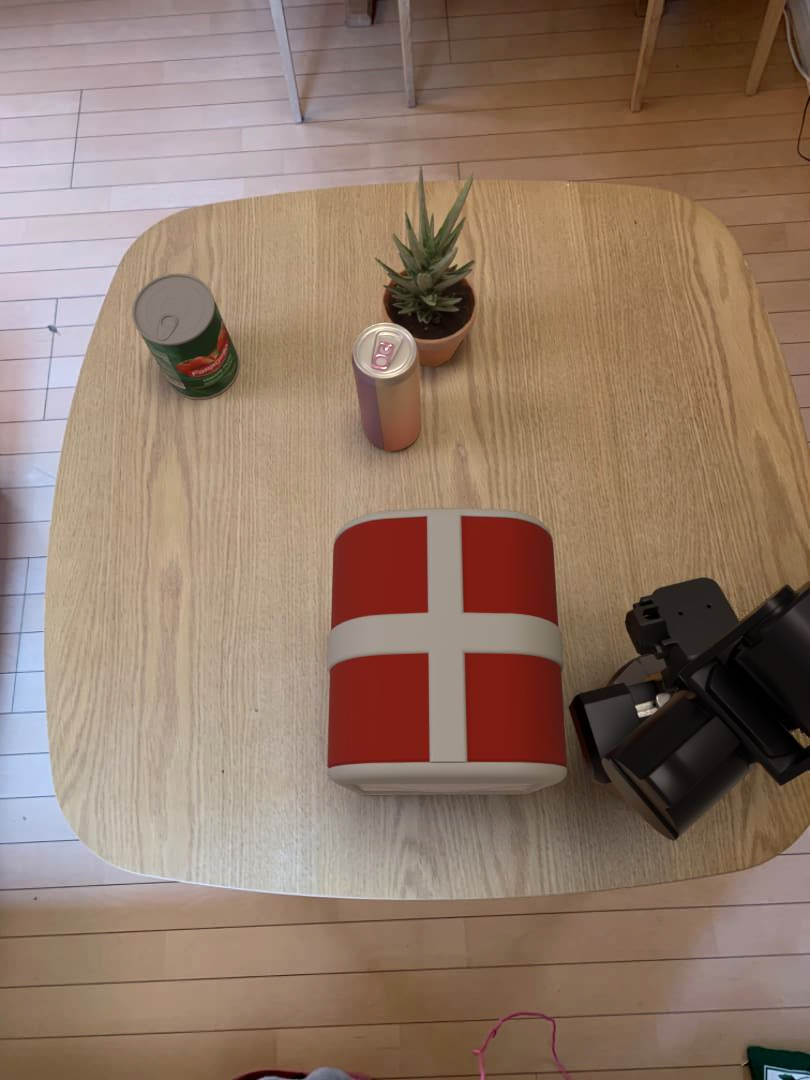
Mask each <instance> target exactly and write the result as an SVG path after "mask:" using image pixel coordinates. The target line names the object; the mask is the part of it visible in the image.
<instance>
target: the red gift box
mask: <svg viewBox="0 0 810 1080" xmlns="http://www.w3.org/2000/svg"><path fill="white" fill-rule="evenodd" d="M554 550H555V547H554V538H553V535H552V532H551V530H550V529H549V527H547V525H546V524H545V523H544V522H543V521H541V519H539V518H537V517H535V516H533V515H531V514H527V513H525V512H521V511H517V510H512V509H511V510H510V509H502V508H501V509H500V508H498V509H497V508H474V507H473V508H471V507H440V508H439V507H435V508H434V507H432V508H412V509H409V508H408V509H395V510H394V509H393V510H381V511H374V512H370V513H366V514H363V515H360V516H357V517H355V518H353V519H351V520H349V521H348V522H346V523H345V524H344V525H343V526H342V527H341V528H340V529H339V530H338V531H337V533H336V534H335V537H334V539H333V549H332V576H331V577H332V579H331V580H332V581H331V614H330V615H331V616H330V617H331V618H330V631H329V633H328V637H327V657H326V659H327V662H326V670H327V673H328V675H329V687H328V689H329V691H328V728H327V730H328V731H327V765H326V767H327V776H328V778H329V780H330V781H332V782H333V783H335V784H336V785H338V786H340V787H342V788H344V789H347V790H349V791H350V792H353V793H355V794H357V795H360V796H455V795H456V796H469V795H471V796H472V795H473V796H477V795H478V796H480V795H482V796H484V795H489V796H490V795H491V796H492V795H493V796H497V795H505V796H510V795H513V796H515V795H520V796H521V795H524V796H525V795H529V794H531V793H535V792H537V791H539V790H542V789H545V788H547V787H551V786H553V785H556V784H558V783H560V782H561V781H563V780H564V779H566V776H567V773H568V768H567V767H568V762H567V760H568V759H567V746H566V745H567V744H566V727H565V726H566V725H565V712H564V711H565V709H564V695H563V693H564V692H563V677H562V672H563V670H564V668H565V667H564V666H565V664H564V663H565V661H564V649H563V647H564V646H563V633H562V631H561V628H560V627H559V612H558V598H557V596H558V595H557V584H556V583H557V581H556V567H555V566H556V564H555V551H554Z"/></svg>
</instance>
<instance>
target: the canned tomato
mask: <svg viewBox="0 0 810 1080" xmlns="http://www.w3.org/2000/svg"><path fill="white" fill-rule="evenodd" d="M131 317H132V322H133V325H134V328H135V329H136V331H138V333H139V335H140V336H141V338H142V339H143V342H144V343H145V345H146V346H147V348H148V349H149V351H150V353H151V355H152V356H153V358H154V360H155V361H156V363H157V365H158V366H159V368H160V369H161V371H162V373H163V375H164V376H165V378H166V380H167V381H168V384H169V385H170V387H171V388H172V389H173V390H174V391H175V392H176V393H177V394H178V395H180V396H182V397H184V398H187V399H190V400H207V399H211V398H214V397H217V396H220V395H221V394H222V393H224V392H226V391H227V390H228V389H229V388H230V387H231V386H232V385H233V383H234V382H235V381H236V379H237V376H238V374H239V370H240V357H239V354H238V352H237V350H236V348H235V346H234V343H233V341H232V338H231V336H230V334H229V333H230V332H229V331H228V328H227V326H226V324H225V322H224V319H223V316H222V314H221V311H220V309H219V308H218V305H217V302H216V300H215V297H214V295H213V292H212V290H211V288H210V287H209V286H208V285H207V284H206V282H204V281H203V280H201V279H200V278H198V277H196V276H194V275H191V274H188V273H181V272H175V273H174V272H173V273H168V274H164V275H160V276H158V277H156V278H154V279H152V280H150V281H149V282H148V283H146V284H145V285H144V286H143V287H142V288H141V289H140V290H139V291H138V293H137V295H136V296H135V298H134V300H133V303H132V307H131Z"/></svg>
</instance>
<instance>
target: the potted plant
mask: <svg viewBox="0 0 810 1080" xmlns="http://www.w3.org/2000/svg"><path fill="white" fill-rule="evenodd" d="M474 173H475V171H472V172H471V174H470V175H469V177H468V179H467V181H466V182H465V184H464V186H463V187H462V189H461V191H460V192H459V194H458V196H457V197H456V199H455V201H454V203H453V204H452V206H451V208H450V210H449V211H448V213H447V215H446V217H445V219H444V221H443V223H442V225H441V227H440V228H438V231H437V232H436V234H435V217H434V212H431V213H432V214H431V215H430V219H429V216H428V215H429V214H428V210H427V201H426V194H425V185H424V173H423V167H422V165H421V164H420V165H419V169H418V183H417V185H418V186H417V194H418V228H419V229H418V230H419V231H418V239H417V236H416V235H417V234H416V233H415V230H414V228H413V225H412V223H411V221H410V218H409V215H408V213H407V211H404V221H405V222H404V223H405V228H406V236H407V242H408V246H409V247H408V246H407V245H405V244H404V243H403V242H402V241H401V239H399V237H398V236H397V235H396V233H395V232H393V233H391V237H392V241H393V242H394V244H395V246H396V248H397V249H398V256H399V259H400V261H401V263H402V266H403V269H402V270H400V271H398V272H397V271H395V270H394V269H393V268H391V267H390V266H388V265H387V264H386V263H384V262H383V261H382V260H381V259H379V258H378V257H376V256H373V258H374V260H375V261H376V262H377V263H378V265H380V266H381V267H382V269H384V270H385V271H386V272H387V273H386V276H388V278H390V280H389V281H388V282H387V284H383V286H382V287H383V288H384V290H383V292H382V297H381V314H382V318H383V323H394V324H397V325H400V326H402V327H404V328H405V329H407V330H408V331H409V332H410V333H411V335H412V336H413V338H414V339H415V342H416V345H417V347H418V350H419V361H420V366H423V367H438V366H440V365H442V364H443V363H446V362H447V361H449V360H450V359H451V358H452V357H453V355H454V353H455V352H456V350H457V348H458V346H459V344H460V343H461V341H462V340H464V339H465V338H466V337H467V335H468V334H470V332H471V330H472V328H473V326H474V323H475V321H476V318H477V311H478V297H477V293H476V290H475V287H474V285H473V283H472V282H471V281H470V279H469V278H468V277H467V276H468V275H470V274H471V272H473V268H471V267H472V266H473V265H474V264H475V263H476V259H471V260H469V261H468V262H467V263H466V264H463V265H462V266H461V267H458V266H459V263H455V264H454V265H452V266H451V264H452V263H453V261H454V260H455V258H456V256H457V254H458V251H459V245H457V246H455V245H456V243H457V241H458V239H459V237H460V235H461V233H462V230H463V228H464V224H465V222H466V216H463V217H462V218H461V220H460V221H459V222H458V224H457V225H456V223H457V221H458V219H459V217H460V214H461V212H462V209H463V207H464V205H465V203H466V200H467V198H468V195H469V193H470V190H471V187H472V185H473V181H474V175H475V174H474ZM429 220H430V221H429ZM455 225H456V226H455ZM454 227H455V228H454Z"/></svg>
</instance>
